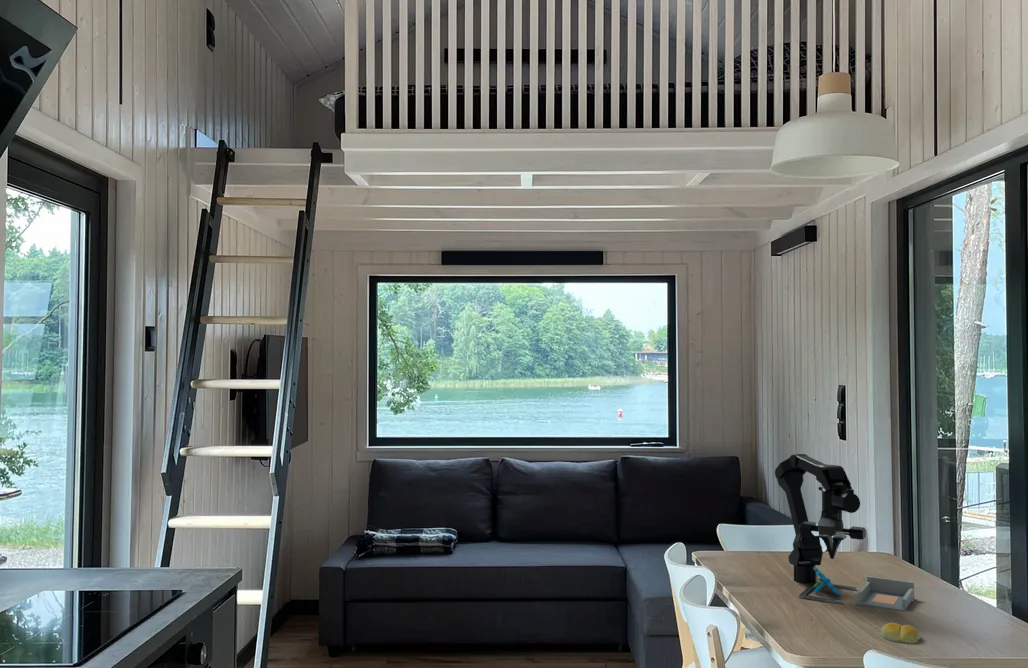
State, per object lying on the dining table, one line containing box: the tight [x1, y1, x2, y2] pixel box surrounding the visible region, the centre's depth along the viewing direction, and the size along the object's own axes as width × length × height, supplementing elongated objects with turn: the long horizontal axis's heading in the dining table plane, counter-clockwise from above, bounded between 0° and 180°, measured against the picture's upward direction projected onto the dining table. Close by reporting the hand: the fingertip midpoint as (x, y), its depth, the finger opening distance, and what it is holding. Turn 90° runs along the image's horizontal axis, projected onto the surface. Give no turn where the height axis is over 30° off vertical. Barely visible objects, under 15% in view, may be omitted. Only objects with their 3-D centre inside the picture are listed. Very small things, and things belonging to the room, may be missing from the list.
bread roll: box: [881, 622, 922, 644], centre depth 212 cm, size 8×9×4 cm
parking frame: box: [798, 581, 857, 605], centre depth 255 cm, size 12×19×1 cm, turn 147°
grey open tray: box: [855, 575, 915, 612], centre depth 247 cm, size 13×18×5 cm
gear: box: [813, 567, 841, 596], centre depth 256 cm, size 11×6×10 cm
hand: (832, 558), depth 255 cm, fingers closed
